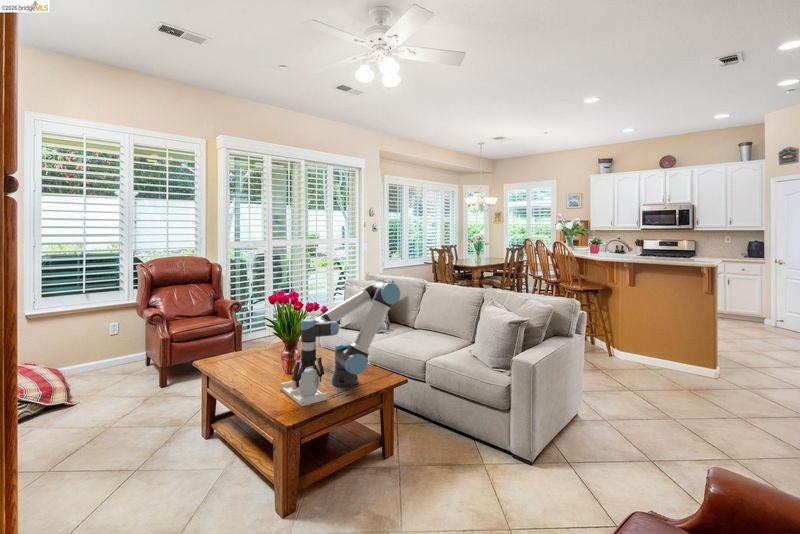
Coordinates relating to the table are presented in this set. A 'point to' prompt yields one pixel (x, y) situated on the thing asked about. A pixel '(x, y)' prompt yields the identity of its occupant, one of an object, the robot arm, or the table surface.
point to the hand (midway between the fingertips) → (308, 390)
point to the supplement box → (308, 382)
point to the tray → (292, 392)
